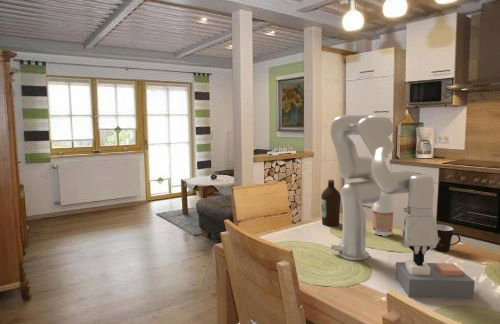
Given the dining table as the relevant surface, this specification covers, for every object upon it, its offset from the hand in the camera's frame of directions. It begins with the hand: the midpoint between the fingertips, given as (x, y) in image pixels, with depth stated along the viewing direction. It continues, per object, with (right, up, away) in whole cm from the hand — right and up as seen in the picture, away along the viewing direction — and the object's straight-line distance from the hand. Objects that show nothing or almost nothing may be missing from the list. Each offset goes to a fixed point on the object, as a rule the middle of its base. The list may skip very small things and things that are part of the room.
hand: (418, 263), depth 119 cm
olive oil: (-12, 0, +76) cm, 77 cm away
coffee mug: (+28, -4, +34) cm, 44 cm away
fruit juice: (+10, -2, +58) cm, 59 cm away
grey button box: (+5, -8, +1) cm, 10 cm away
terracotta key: (+10, -5, 0) cm, 11 cm away
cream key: (0, -4, +1) cm, 5 cm away
